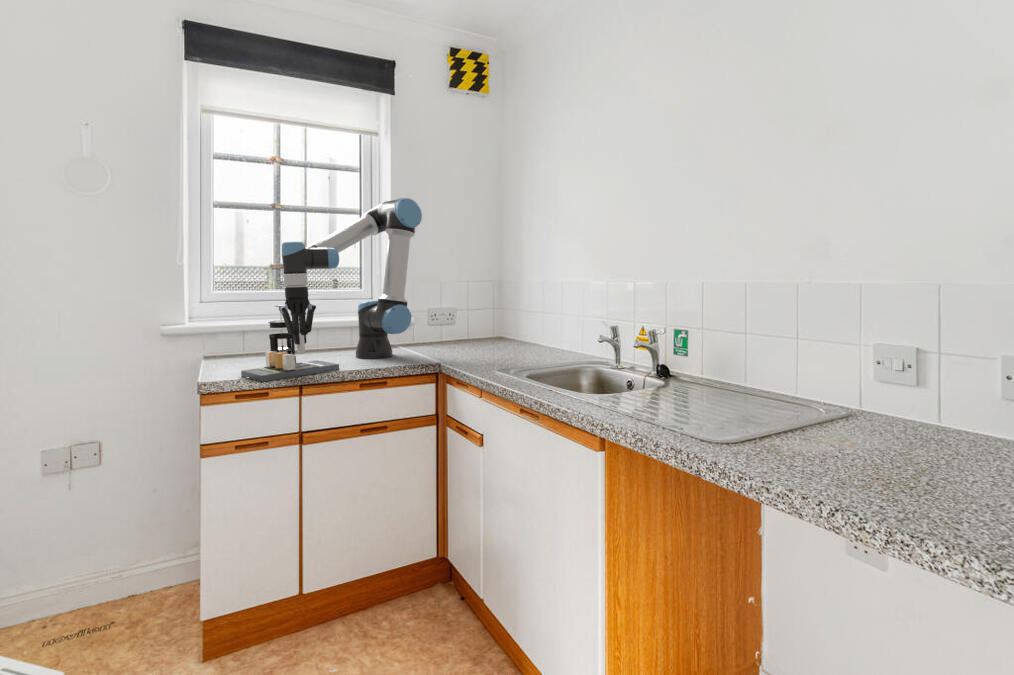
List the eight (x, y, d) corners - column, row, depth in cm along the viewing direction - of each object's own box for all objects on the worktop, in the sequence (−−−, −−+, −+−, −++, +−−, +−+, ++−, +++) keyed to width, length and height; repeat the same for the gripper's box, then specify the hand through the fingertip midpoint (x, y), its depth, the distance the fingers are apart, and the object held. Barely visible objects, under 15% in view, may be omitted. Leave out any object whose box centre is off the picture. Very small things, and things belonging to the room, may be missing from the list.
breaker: (283, 366, 183) (282, 352, 183) (287, 367, 182) (286, 352, 181) (275, 367, 181) (274, 353, 180) (278, 368, 179) (278, 353, 179)
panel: (316, 365, 200) (315, 345, 199) (339, 369, 190) (338, 349, 189) (241, 376, 179) (239, 354, 178) (262, 381, 169) (261, 358, 168)
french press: (280, 362, 207) (277, 304, 204) (302, 363, 205) (299, 304, 203) (262, 368, 195) (258, 306, 193) (285, 368, 194) (281, 306, 191)
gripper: (307, 285, 191) (312, 349, 194) (272, 287, 181) (278, 354, 184) (319, 285, 186) (323, 351, 189) (283, 287, 176) (289, 356, 179)
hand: (301, 353), depth 187 cm, fingers closed
